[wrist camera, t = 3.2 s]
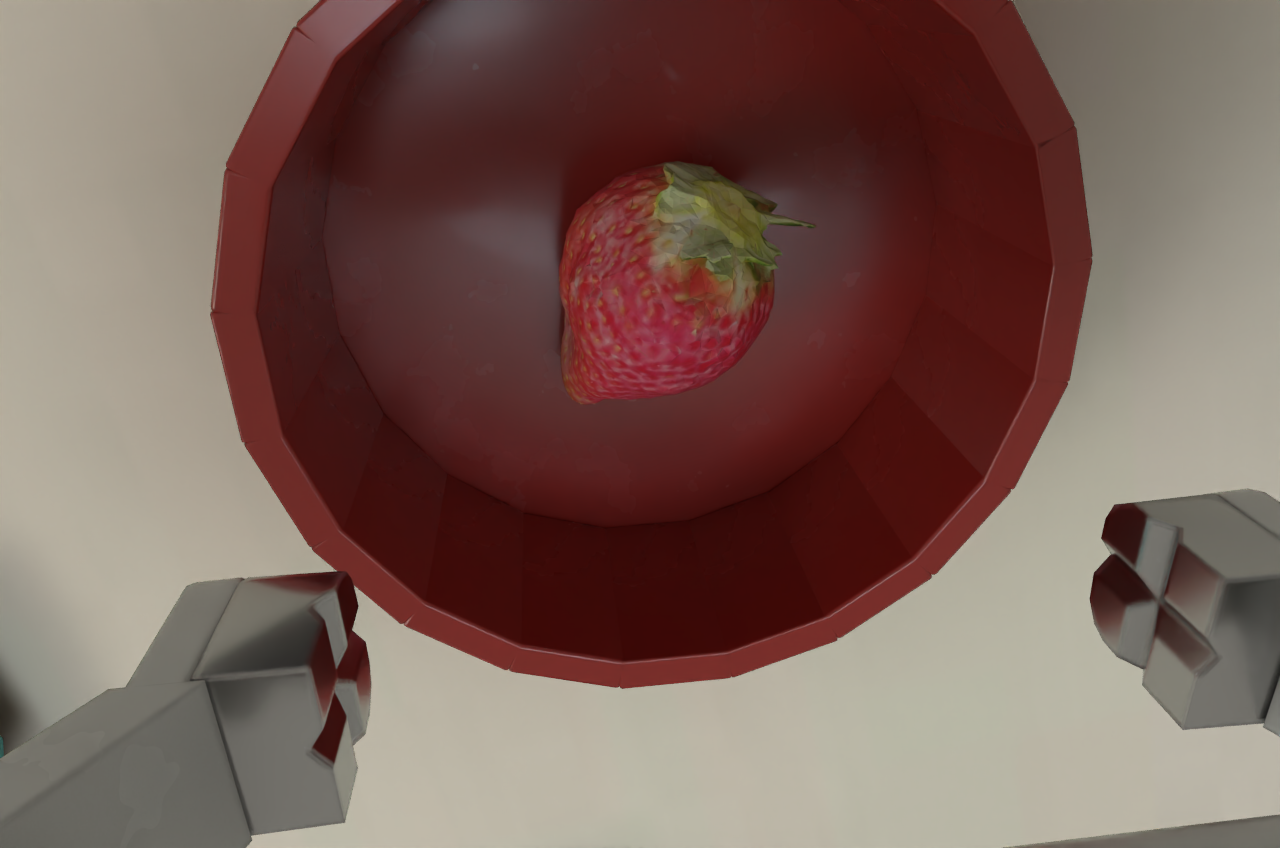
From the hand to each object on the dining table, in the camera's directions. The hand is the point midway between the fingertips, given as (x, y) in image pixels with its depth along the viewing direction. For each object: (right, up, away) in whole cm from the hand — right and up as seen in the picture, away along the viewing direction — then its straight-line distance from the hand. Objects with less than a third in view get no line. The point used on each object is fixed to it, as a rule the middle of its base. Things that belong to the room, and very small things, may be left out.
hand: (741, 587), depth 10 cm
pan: (-1, +5, +10) cm, 12 cm away
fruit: (-1, +5, +10) cm, 11 cm away
